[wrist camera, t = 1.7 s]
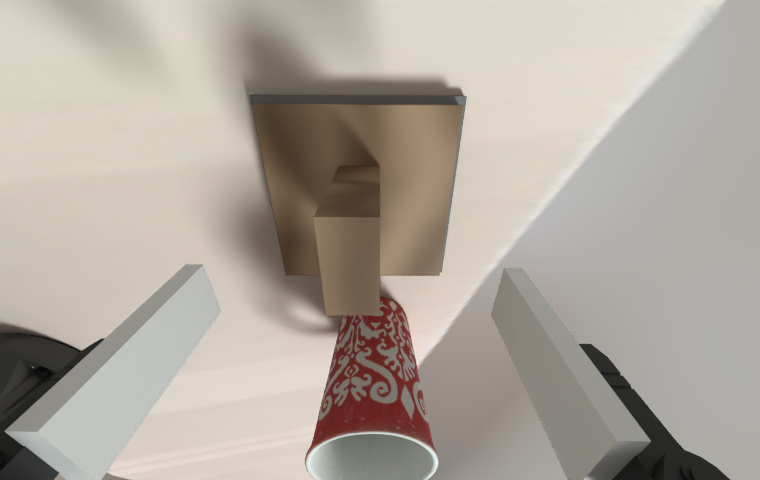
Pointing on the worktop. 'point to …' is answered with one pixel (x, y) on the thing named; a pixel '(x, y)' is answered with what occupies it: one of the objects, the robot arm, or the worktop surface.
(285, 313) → the worktop surface
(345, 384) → the mug
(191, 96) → the worktop surface
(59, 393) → the robot arm
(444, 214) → the wooden base stand
